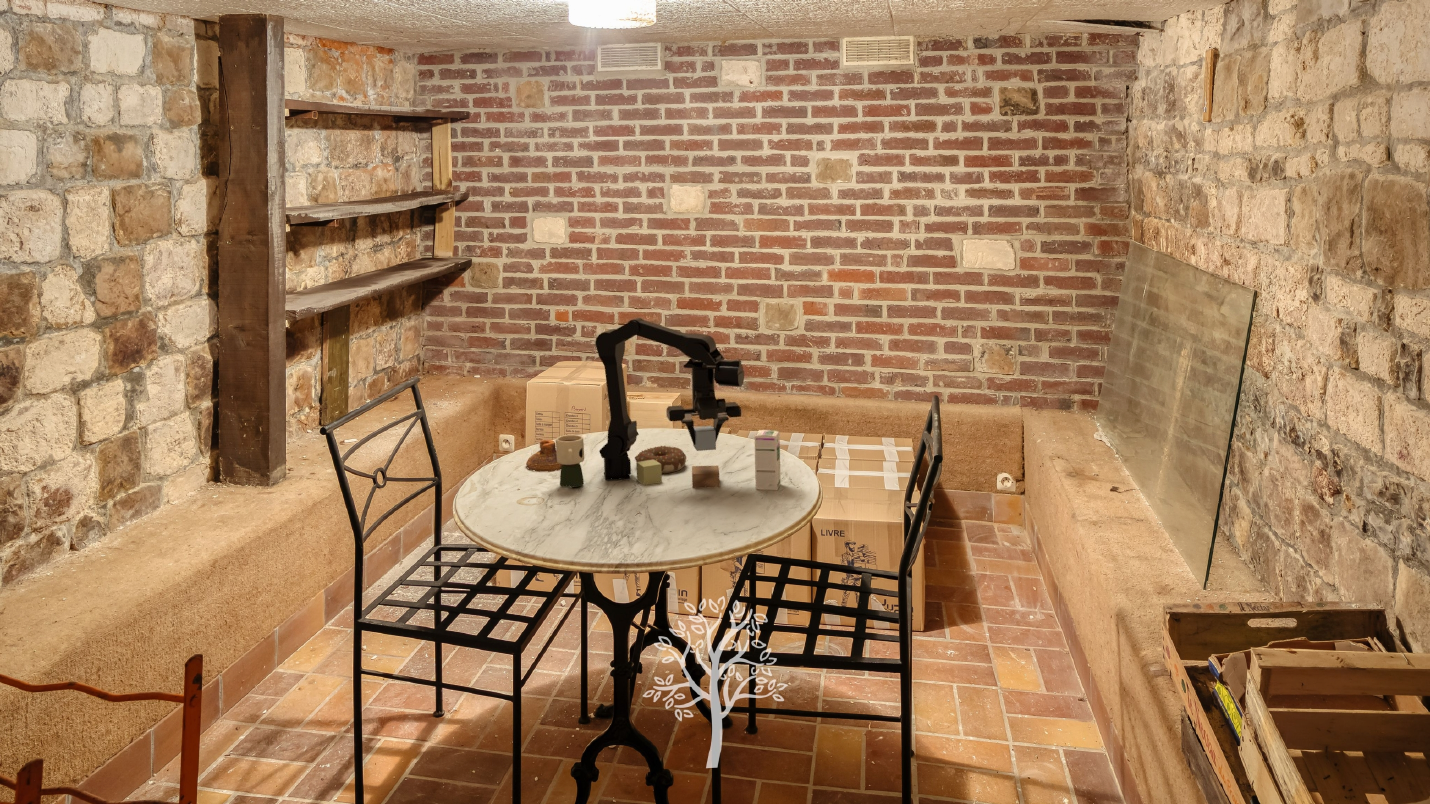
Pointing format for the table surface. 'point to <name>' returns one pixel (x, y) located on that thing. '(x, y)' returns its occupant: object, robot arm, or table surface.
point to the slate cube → (705, 438)
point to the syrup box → (767, 459)
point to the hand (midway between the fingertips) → (704, 443)
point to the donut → (664, 457)
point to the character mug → (570, 459)
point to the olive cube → (649, 472)
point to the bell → (544, 458)
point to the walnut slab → (705, 476)
